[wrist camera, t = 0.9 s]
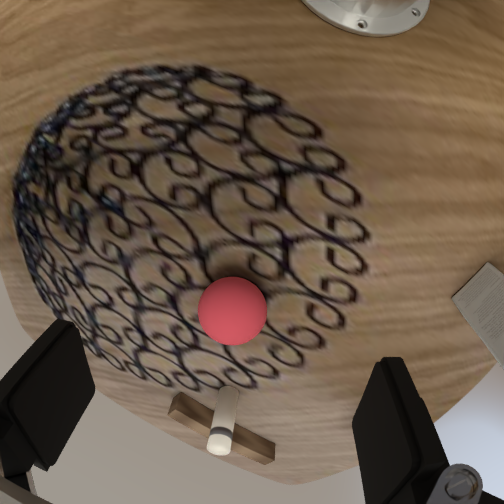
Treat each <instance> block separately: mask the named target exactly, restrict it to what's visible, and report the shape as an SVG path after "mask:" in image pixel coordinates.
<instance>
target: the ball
mask: <svg viewBox="0 0 504 504" xmlns="http://www.w3.org/2000/svg"><path fill="white" fill-rule="evenodd" d="M198 316H199V321H200V324H201V326H202V328H203V329H204V331H205V332H206V333H207V334H208V335H209V336H210V337H211V338H212V339H214V340H215V341H217V342H219V343H222V344H226V345H239V344H243V343H246V342H248V341H250V340H251V339H253V338H254V337H255V336H257V335H258V333H259V332H260V331H261V329H262V328H263V326H264V324H265V321H266V316H267V306H266V301H265V299H264V296H263V294H262V293H261V291H260V290H259V289H258V288H257V287H256V286H255V285H254V284H253V283H251V282H250V281H248V280H246V279H243V278H240V277H225V278H221V279H219V280H217V281H215V282H213V283H212V284H210V285H209V286H208V287H207V288H206V289H205V291H204V292H203V294H202V296H201V298H200V301H199V305H198Z"/></svg>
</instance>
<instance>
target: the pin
mask: <svg viewBox="0 0 504 504" xmlns="http://www.w3.org/2000/svg"><path fill="white" fill-rule="evenodd" d="M238 396H239V392H238V390H237V389H236V388H234V387H232V386H223V387H221V388H220V389H219V393H218V398H217V403H216V407H215V412H214V417H213V421H212V426H211V430H210V434H209V440H208V444H207V450H208V451H209V452H211V453H213V454H216V455H227V454H229V453H230V449H231V443H232V437H233V429H234V423H235V416H236V409H237V403H238Z"/></svg>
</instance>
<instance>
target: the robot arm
mask: <svg viewBox="0 0 504 504" xmlns="http://www.w3.org/2000/svg"><path fill="white" fill-rule="evenodd" d="M301 1H302V2H303V3H304V4H305V5H306V6H307V7H308V8H309V9H310V10H311V11H312V12H314V13H315V14H316V15H318V16H319V17H320V18H322V19H323V20H325V21H327V22H328V23H330V24H332V25H334V26H336V27H338V28H341V29H343V30H345V31H348V32H351V33H355V34H359V35H363V36H372V37H387V36H393V35H397V34H401V33H403V32H405V31H407V30H409V29H411V28H412V27H414V26H415V25H417V24H418V23H419V22H420V21H421V20H422V19H423V18H424V16H425V14H426V12H427V10H428V8H429V3H430V0H301ZM413 14H414V15H413ZM358 24H360V25H362V28H360V27H359V26H358ZM94 393H95V384H94V381H93V378H92V375H91V372H90V368H89V365H88V362H87V358H86V355H85V351H84V347H83V343H82V340H81V336H80V332H79V329H78V328H76V326H75V324H74V323H73V322H70V321H66V320H61V319H57V320H55V321H54V322H53V323H52V324H51V325H50V327H49V328H48V329H47V330H46V331H45V332H44V333H43V334H42V335H41V336H40V337H39V338H38V339H37V340H36V341H35V342H34V343H33V345H32V346H31V347H30V348H29V349H28V350H27V351H26V352H25V353H24V355H22V357H21V358H20V359H19V360H18V361H17V362H16V363H15V364H14V365H13V367H12V368H11V369H10V370H9V371H8V373H6V375H5V376H4V377H3V378H2V379H1V381H0V504H52V503H50V502H48V501H46V500H44V499H42V498H40V497H38V496H37V493H36V489H35V486H34V481H33V477H32V474H31V467H32V465H33V464H34V466H36V467H38V468H40V469H42V470H44V471H48V469H49V467H50V466H53V465H54V464H55V463H56V461H57V459H58V457H59V456H60V454H61V452H62V450H63V448H64V447H65V445H66V443H67V441H68V439H69V438H70V436H71V434H72V432H73V430H74V429H75V427H76V425H77V423H78V422H79V420H80V418H81V416H82V414H83V413H84V411H85V409H86V408H87V406H88V404H89V403H90V401H91V399H92V397H93V396H94ZM352 429H353V434H354V439H355V444H356V450H357V455H358V461H359V466H360V471H361V478H362V484H363V490H364V496H365V502H366V504H504V500H502V499H500V498H498V497H495V496H493V495H491V494H489V493H487V492H485V491H483V490H482V488H483V484H482V479H481V477H480V475H479V473H478V472H477V471H476V470H475V469H474V468H472V467H470V466H469V465H465V464H454V465H451V466H450V465H449V462H448V460H447V457H446V454H445V452H444V449H443V447H442V444H441V441H440V439H439V436H438V434H437V432H436V429H435V426H434V424H433V422H432V419H431V417H430V414H429V412H428V410H427V407H426V405H425V403H424V401H423V399H422V398H420V396H419V394H418V392H417V390H416V387H415V385H414V383H413V381H412V378H411V376H410V374H409V372H408V370H407V367H406V365H405V363H404V361H403V359H402V358H401V357H383V358H382V359H381V361H380V362H376V364H375V366H374V368H373V371H372V374H371V376H370V379H369V381H368V384H367V386H366V389H365V391H364V394H363V396H362V399H361V401H360V403H359V406H358V408H357V410H356V413H355V415H354V417H353V421H352Z"/></svg>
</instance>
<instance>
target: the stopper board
mask: <svg viewBox="0 0 504 504" xmlns="http://www.w3.org/2000/svg"><path fill="white" fill-rule="evenodd" d="M168 416H169V417H171V418H173V419H174V420H176V421H178V422H180V423H181V424H183V425H185V426H187V427H188V428H190V429H192V430H194V431H196V432H197V433H199V434H201V435H203V436H205V437H207V438H209V434H210V430H211V426H212V421H213V417H214V411H212V410H210V409H208V408H207V407H205V406H203V405H202V404H200V403H198V402H197V401H195V400H193V399H192V398H190V397H188V396H187V395H185V394H184V393H182V392H181V393H179V394H178V395H177V396H176V397H174V398H173V401H172V403H171V406H170V409H169V412H168ZM231 450H233V451H235V452H237V453H239V454H241V455H243V456H245V457H248V458H250V459H252V460H254V461H257V462H259V463H261V464H264V465H266V464H268V463H270V462H272V461H275V444H274V443H272V442H270V441H268V440H266V439H264V438H262V437H260V436H258V435H256V434H254V433H252V432H250V431H248V430H246V429H244V428H243V427H241V426H239V425H237V424H235V423H234V429H233V437H232V443H231Z"/></svg>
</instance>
